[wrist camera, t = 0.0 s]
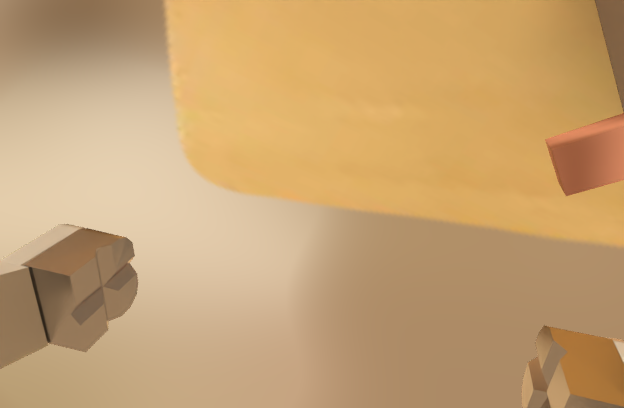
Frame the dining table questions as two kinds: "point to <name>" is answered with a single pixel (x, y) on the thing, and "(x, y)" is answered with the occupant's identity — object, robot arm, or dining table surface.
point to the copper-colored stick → (589, 155)
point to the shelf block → (614, 37)
